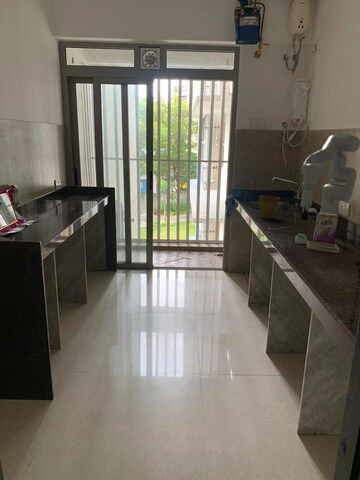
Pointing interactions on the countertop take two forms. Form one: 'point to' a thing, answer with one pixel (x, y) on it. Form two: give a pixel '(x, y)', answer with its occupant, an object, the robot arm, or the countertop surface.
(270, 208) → the plant pot
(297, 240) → the button housing
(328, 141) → the robot arm
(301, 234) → the button
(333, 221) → the candy bar box
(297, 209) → the countertop surface
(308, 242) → the tray
